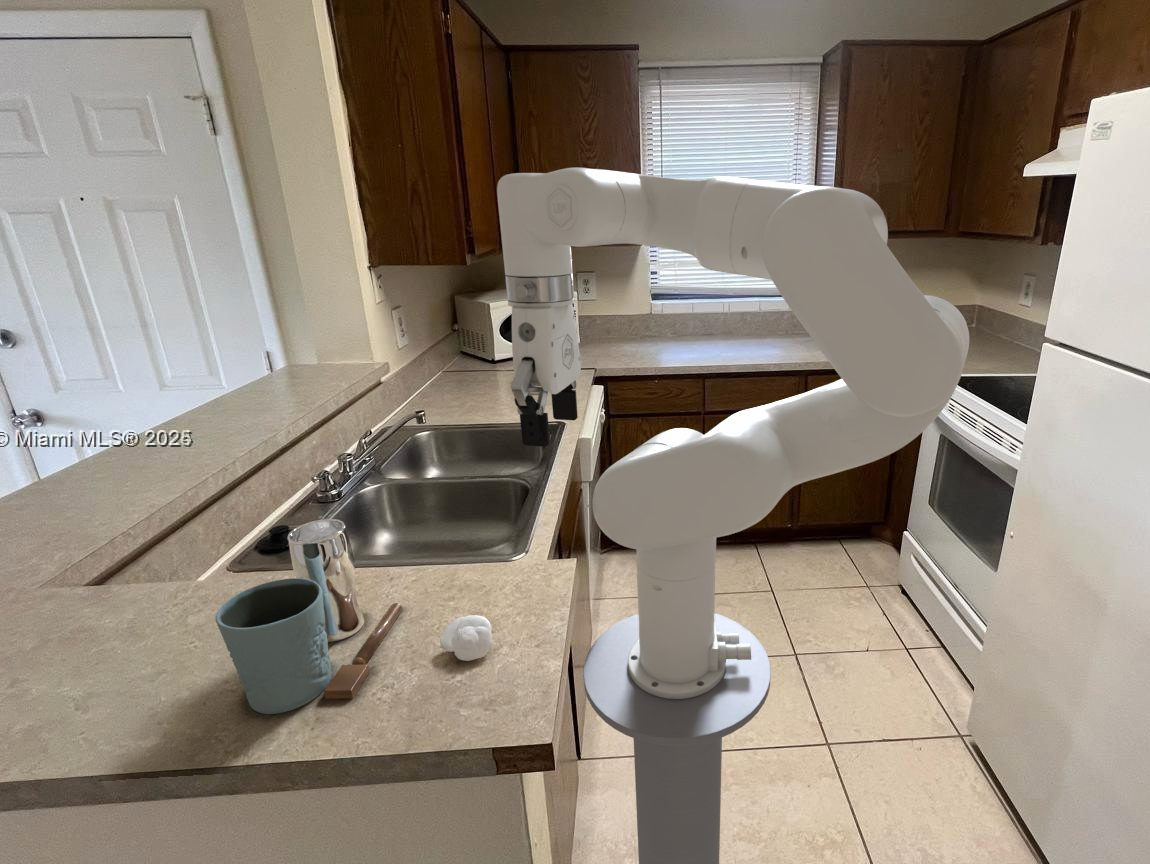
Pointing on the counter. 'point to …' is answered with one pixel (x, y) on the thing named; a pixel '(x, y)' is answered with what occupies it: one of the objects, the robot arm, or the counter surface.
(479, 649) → the dumpling
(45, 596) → the counter surface
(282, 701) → the teal embossed cup
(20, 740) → the counter surface
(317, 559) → the chrome tumbler
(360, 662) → the wooden spatula
